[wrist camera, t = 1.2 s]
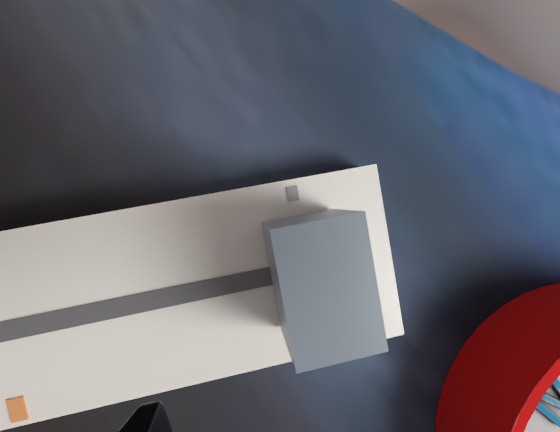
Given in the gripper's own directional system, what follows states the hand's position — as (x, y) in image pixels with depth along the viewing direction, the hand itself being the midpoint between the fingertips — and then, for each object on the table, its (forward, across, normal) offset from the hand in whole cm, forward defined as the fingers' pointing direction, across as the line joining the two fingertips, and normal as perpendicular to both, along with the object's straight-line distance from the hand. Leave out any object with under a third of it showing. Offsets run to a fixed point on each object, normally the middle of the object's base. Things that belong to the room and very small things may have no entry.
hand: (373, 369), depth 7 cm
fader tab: (+11, 0, +3) cm, 12 cm away
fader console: (+14, +8, +4) cm, 16 cm away
